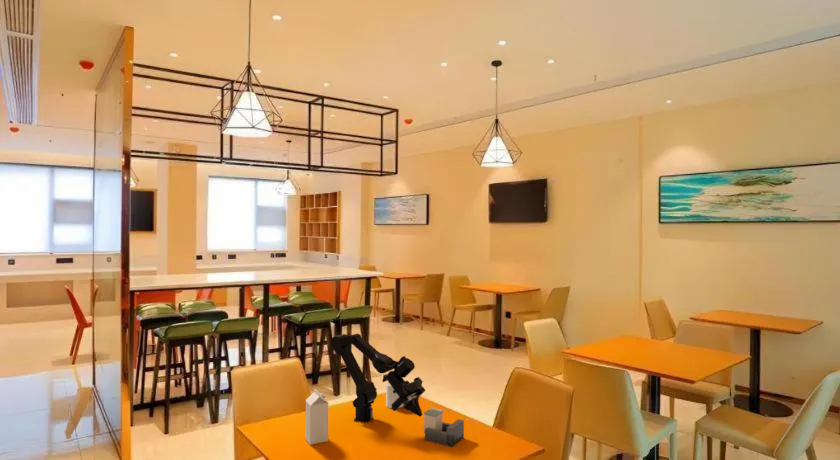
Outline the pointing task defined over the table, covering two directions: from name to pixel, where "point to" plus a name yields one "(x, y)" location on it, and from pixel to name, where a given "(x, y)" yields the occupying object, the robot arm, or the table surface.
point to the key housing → (446, 433)
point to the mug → (390, 396)
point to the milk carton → (316, 418)
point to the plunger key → (433, 419)
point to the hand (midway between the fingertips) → (421, 415)
